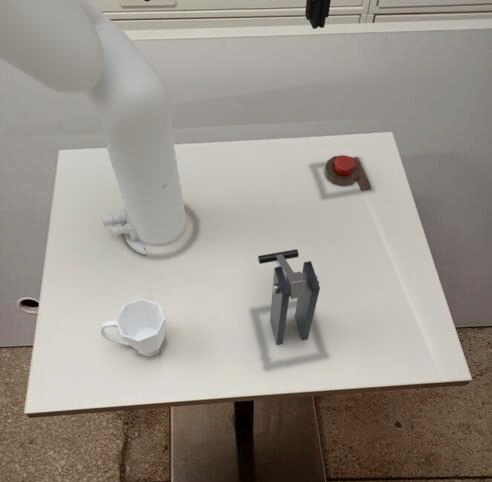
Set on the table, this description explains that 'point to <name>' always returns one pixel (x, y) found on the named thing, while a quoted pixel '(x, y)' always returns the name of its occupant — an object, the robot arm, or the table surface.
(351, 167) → the button
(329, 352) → the table surface
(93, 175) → the table surface
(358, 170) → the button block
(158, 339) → the cup
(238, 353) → the table surface
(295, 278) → the lever
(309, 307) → the bracket
